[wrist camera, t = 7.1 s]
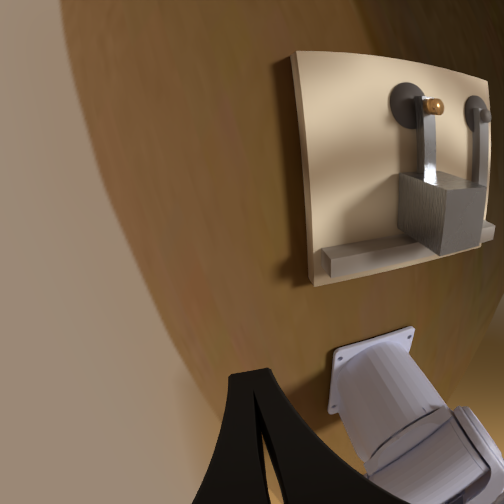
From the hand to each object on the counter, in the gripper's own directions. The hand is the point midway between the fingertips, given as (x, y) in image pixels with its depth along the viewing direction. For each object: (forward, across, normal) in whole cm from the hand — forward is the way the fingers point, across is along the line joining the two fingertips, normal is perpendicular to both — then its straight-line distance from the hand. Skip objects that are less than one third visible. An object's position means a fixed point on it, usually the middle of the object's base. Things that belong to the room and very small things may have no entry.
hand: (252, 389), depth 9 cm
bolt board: (+10, -13, -5) cm, 17 cm away
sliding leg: (+8, -13, -5) cm, 16 cm away
